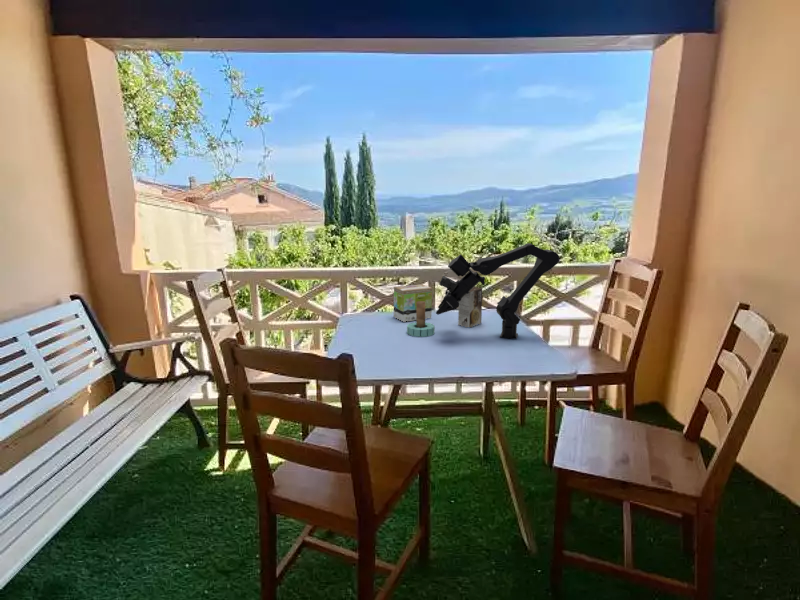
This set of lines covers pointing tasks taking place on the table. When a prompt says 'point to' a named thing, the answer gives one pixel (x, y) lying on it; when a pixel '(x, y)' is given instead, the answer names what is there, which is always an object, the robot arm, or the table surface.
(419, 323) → the walnut peg
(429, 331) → the teal bead
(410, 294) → the tea box
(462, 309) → the coffee box
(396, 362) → the table surface
